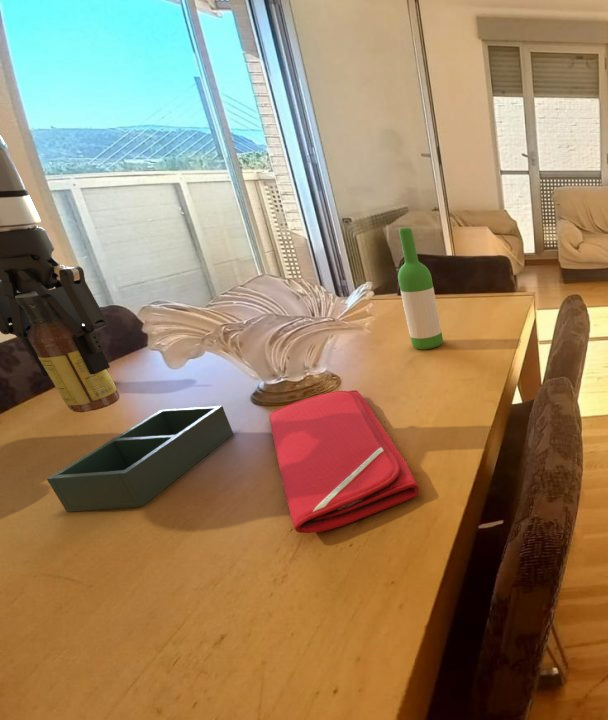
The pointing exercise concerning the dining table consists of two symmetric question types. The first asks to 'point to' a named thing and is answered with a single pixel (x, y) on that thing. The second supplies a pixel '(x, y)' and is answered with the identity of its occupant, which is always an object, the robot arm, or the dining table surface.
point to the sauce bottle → (65, 358)
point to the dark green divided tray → (141, 460)
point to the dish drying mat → (337, 461)
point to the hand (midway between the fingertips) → (77, 371)
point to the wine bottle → (418, 297)
